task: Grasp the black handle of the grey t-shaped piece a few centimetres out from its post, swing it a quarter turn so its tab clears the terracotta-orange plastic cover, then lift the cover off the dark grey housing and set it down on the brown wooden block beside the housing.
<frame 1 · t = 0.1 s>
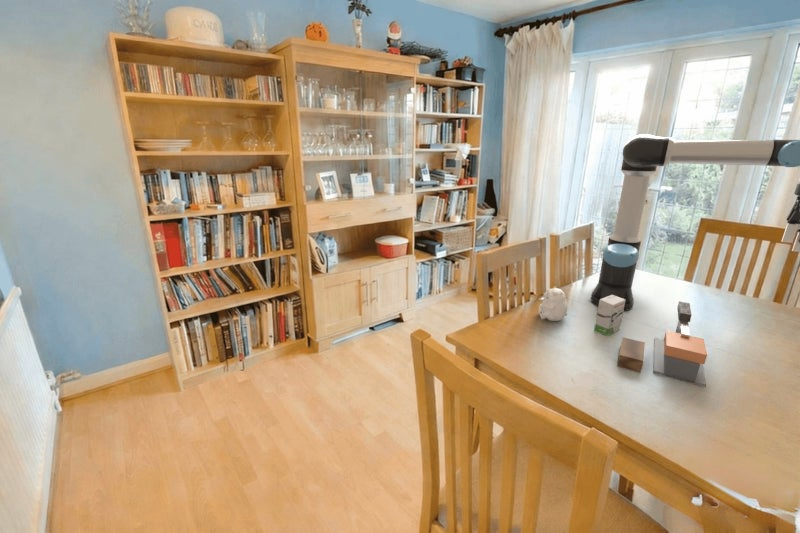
hand: (792, 246, 128), 28 cm above the table, fingers open, 13 cm apart
brown wooden block: (629, 359, 114), on the table
cover: (682, 351, 107), point 6 cm above the table, touching housing
ink box: (606, 330, 131), on the table
figurine: (552, 318, 140), on the table
housing: (677, 369, 109), on the table
grey t-shaped piece: (681, 330, 117), point 7 cm above the table, hinge at 0.0°
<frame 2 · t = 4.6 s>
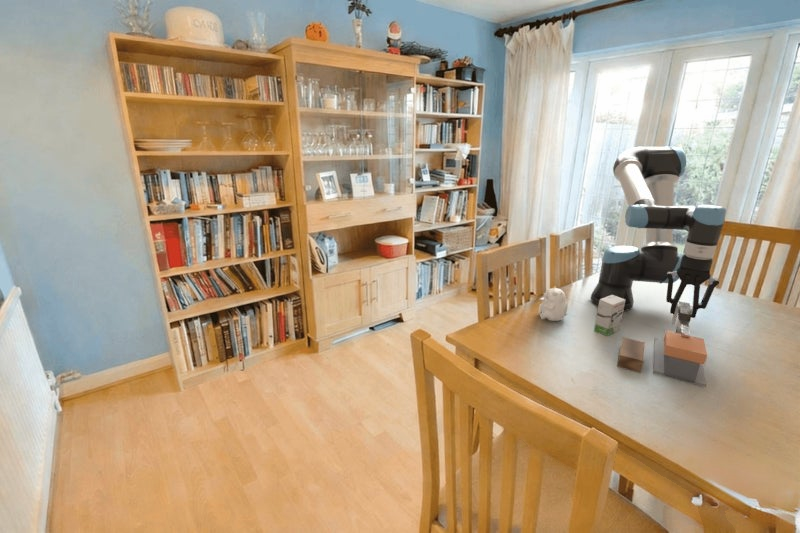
hand: (679, 324, 123), 6 cm above the table, fingers closed on grey t-shaped piece, 3 cm apart
grey t-shaped piece: (681, 330, 117), point 7 cm above the table, hinge at 0.0°, touching gripper
everything else where it was.
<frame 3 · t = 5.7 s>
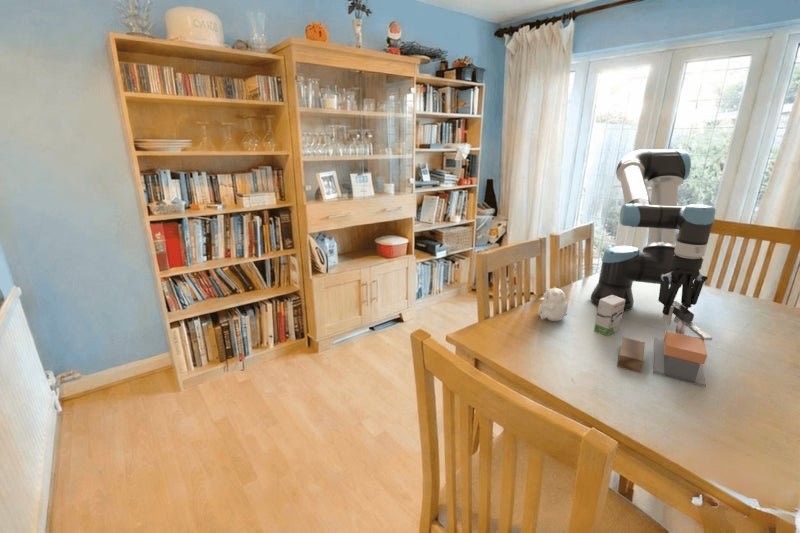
hand: (671, 323, 123), 6 cm above the table, fingers closed on grey t-shaped piece, 3 cm apart
grey t-shaped piece: (684, 330, 117), point 7 cm above the table, hinge at 26.0°, touching gripper
everything else where it was.
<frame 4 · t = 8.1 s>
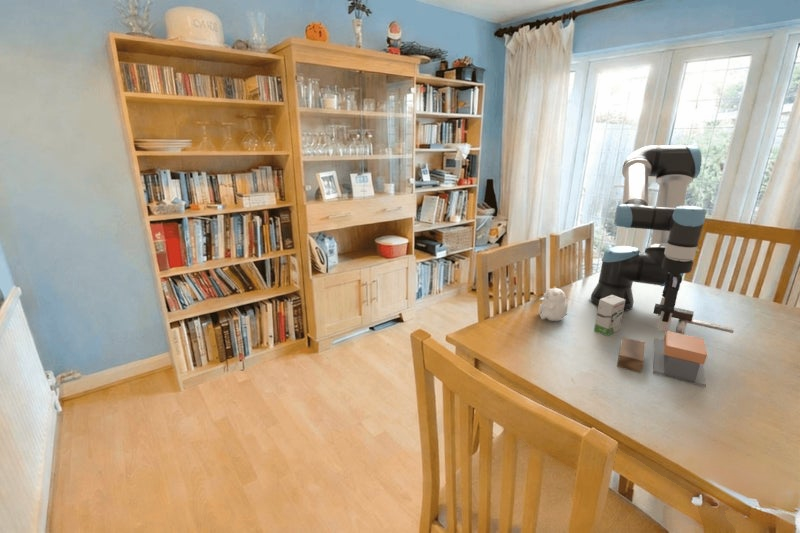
hand: (662, 322, 121), 7 cm above the table, fingers open, 10 cm apart
grey t-shaped piece: (689, 329, 117), point 7 cm above the table, hinge at 85.5°
everything else where it was.
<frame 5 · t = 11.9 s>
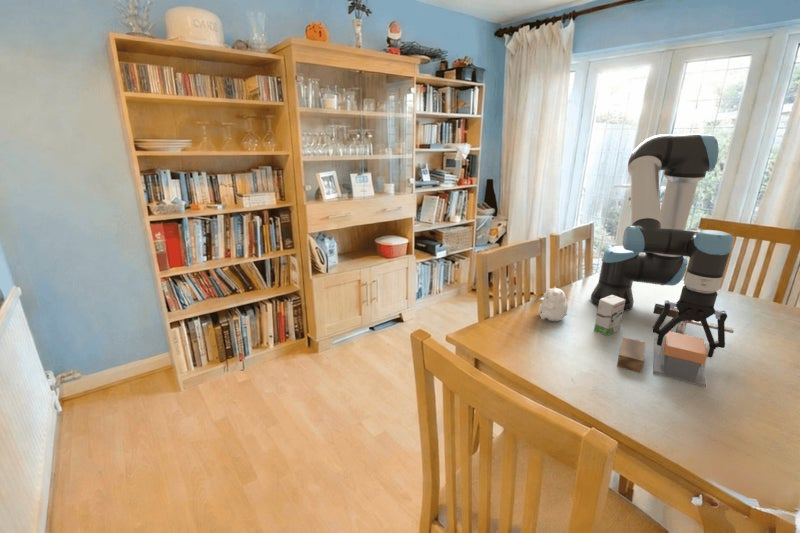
hand: (680, 360, 108), 3 cm above the table, fingers closed on cover, 9 cm apart
cover: (682, 351, 107), point 6 cm above the table, touching gripper, housing
everything else where it was.
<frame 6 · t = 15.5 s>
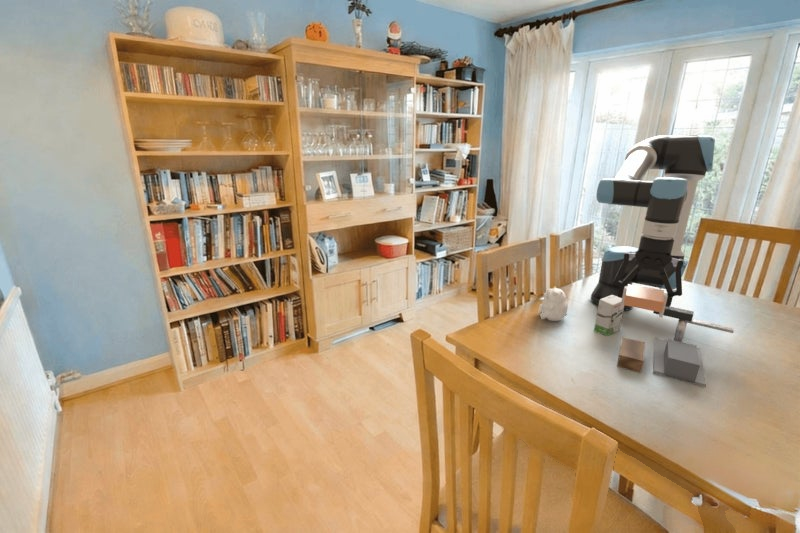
hand: (640, 311, 108), 16 cm above the table, fingers closed on cover, 9 cm apart
cover: (642, 302, 107), point 19 cm above the table, touching gripper
everything else where it was.
when the fingers open (1 cm above the table, at t = 19.1 s): cover stays where it is, resting on brown wooden block.
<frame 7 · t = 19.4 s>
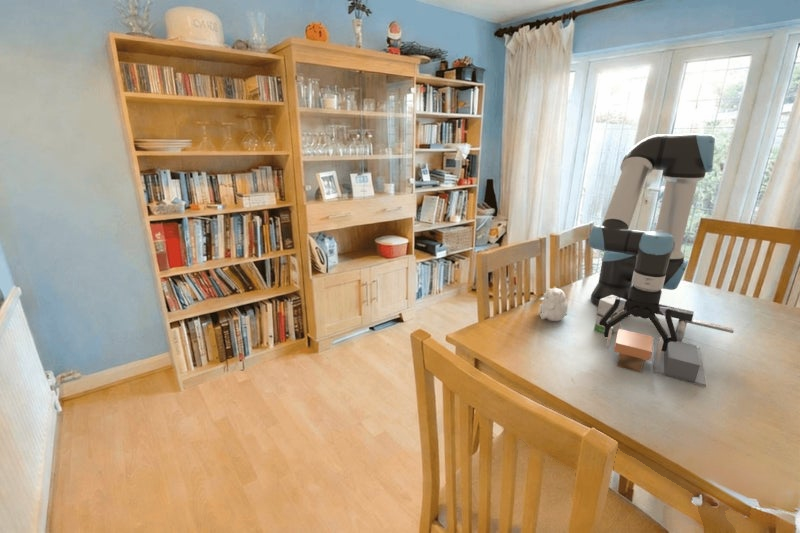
hand: (631, 352, 113), 2 cm above the table, fingers open, 12 cm apart
cover: (632, 348, 112), point 4 cm above the table, touching brown wooden block
everything else where it was.
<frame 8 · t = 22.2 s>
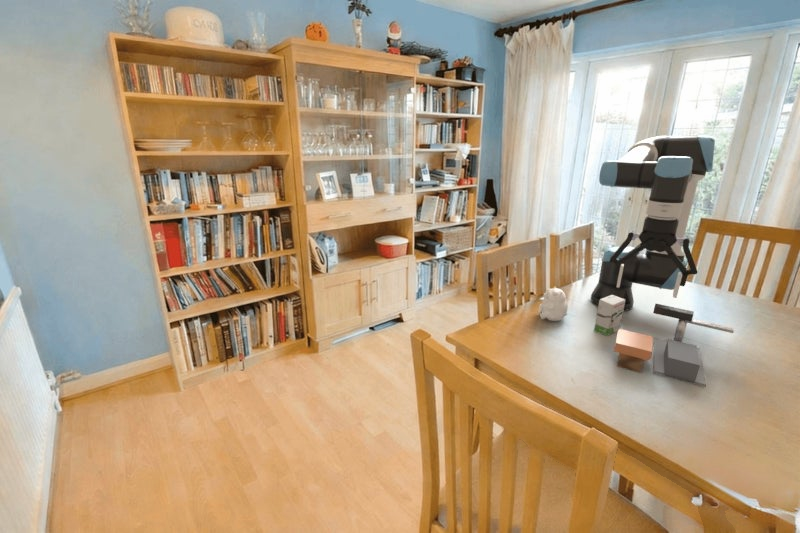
hand: (645, 291, 106), 23 cm above the table, fingers open, 13 cm apart
nothing on the table moved.
at the end: grey t-shaped piece at +86° (first picture: +0°); cover inside the target area (0.0 cm from its centre), point 4.0 cm above the table; cover tilted 0° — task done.
